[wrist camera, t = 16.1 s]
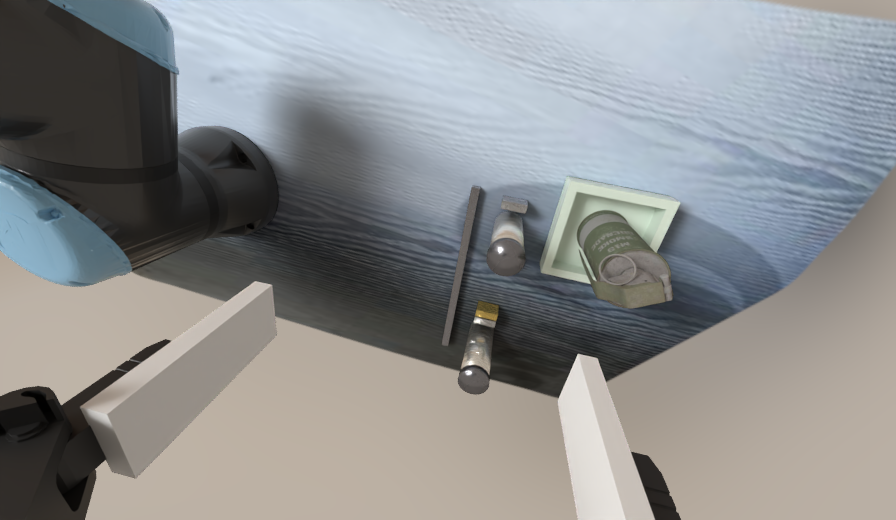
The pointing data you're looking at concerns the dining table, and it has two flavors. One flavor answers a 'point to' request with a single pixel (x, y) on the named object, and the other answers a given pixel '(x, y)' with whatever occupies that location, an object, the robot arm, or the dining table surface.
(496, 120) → the dining table surface
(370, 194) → the dining table surface
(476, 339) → the fuse rail
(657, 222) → the tray
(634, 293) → the grenade
